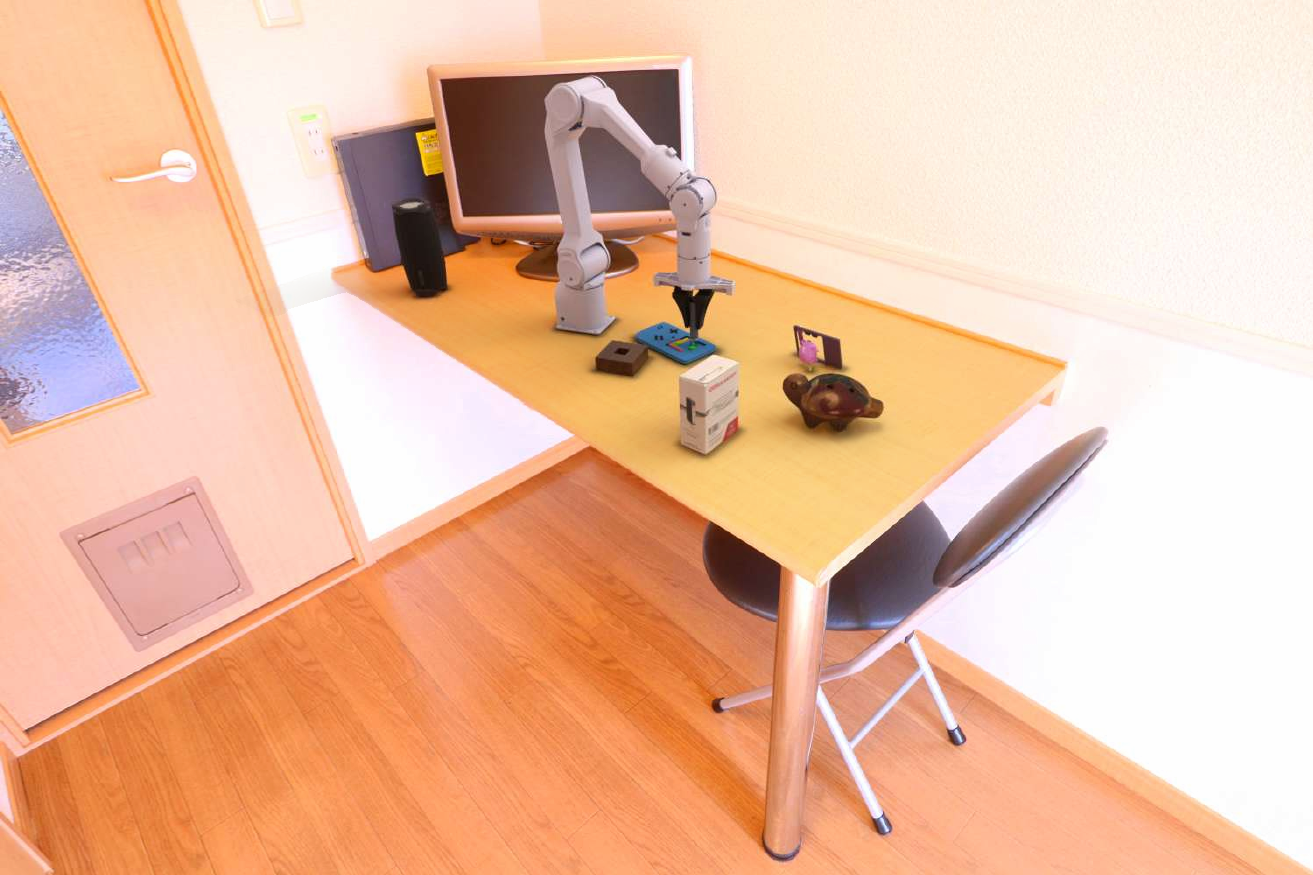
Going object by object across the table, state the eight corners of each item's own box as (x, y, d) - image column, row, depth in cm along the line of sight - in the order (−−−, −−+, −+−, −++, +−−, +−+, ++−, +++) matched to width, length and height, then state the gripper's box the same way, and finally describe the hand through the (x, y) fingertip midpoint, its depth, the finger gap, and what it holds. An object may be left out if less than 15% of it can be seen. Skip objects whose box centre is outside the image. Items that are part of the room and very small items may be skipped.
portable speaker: (423, 281, 164) (404, 195, 153) (458, 286, 161) (441, 197, 150) (400, 295, 157) (379, 206, 146) (437, 300, 154) (417, 209, 144)
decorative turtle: (776, 404, 115) (783, 359, 110) (871, 412, 114) (882, 367, 109) (779, 435, 106) (786, 387, 102) (882, 444, 105) (894, 396, 101)
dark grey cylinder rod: (688, 344, 131) (688, 299, 126) (691, 341, 132) (691, 295, 127) (696, 346, 131) (696, 300, 126) (699, 342, 132) (699, 296, 127)
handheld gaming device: (663, 319, 140) (718, 344, 130) (663, 325, 140) (718, 350, 131) (630, 333, 135) (684, 359, 126) (631, 338, 136) (685, 365, 126)
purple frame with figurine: (842, 336, 119) (796, 322, 124) (825, 356, 117) (779, 341, 122) (845, 365, 124) (800, 350, 129) (829, 384, 122) (784, 368, 127)
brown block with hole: (596, 370, 126) (595, 357, 125) (612, 352, 132) (612, 339, 130) (633, 376, 124) (632, 363, 122) (648, 358, 129) (648, 345, 128)
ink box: (712, 419, 112) (713, 351, 105) (739, 430, 109) (741, 361, 102) (678, 444, 106) (677, 374, 100) (705, 456, 104) (705, 385, 97)
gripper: (645, 257, 121) (648, 330, 129) (727, 266, 117) (725, 341, 124) (660, 244, 127) (662, 314, 134) (739, 252, 122) (737, 324, 130)
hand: (694, 326), depth 130 cm, fingers closed on dark grey cylinder rod, 1 cm apart
